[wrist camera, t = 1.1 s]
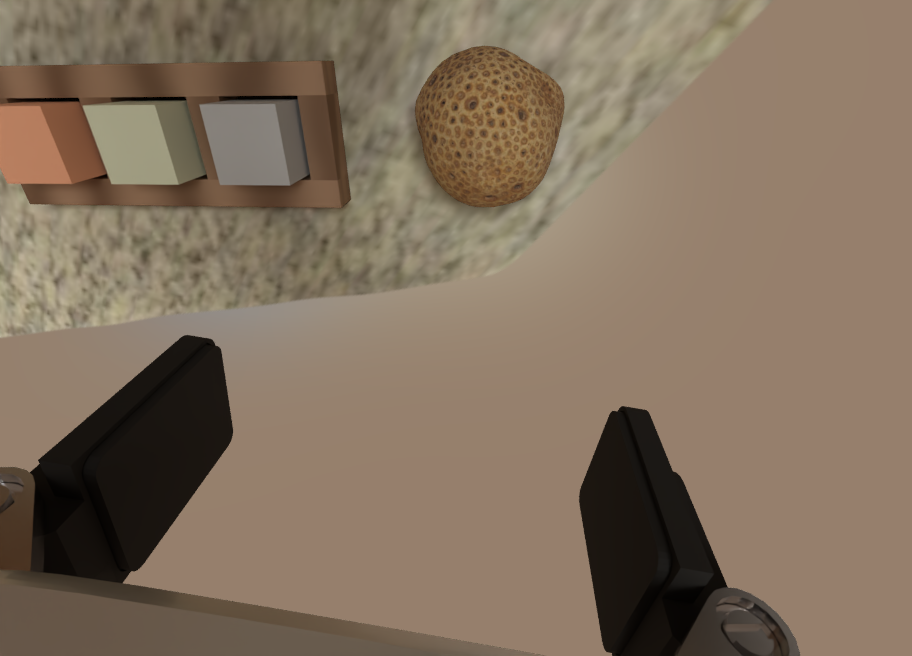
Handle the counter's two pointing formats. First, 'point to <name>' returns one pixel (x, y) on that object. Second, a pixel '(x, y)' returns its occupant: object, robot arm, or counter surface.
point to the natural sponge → (489, 125)
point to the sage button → (146, 141)
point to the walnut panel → (198, 127)
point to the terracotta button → (47, 144)
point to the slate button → (256, 141)
